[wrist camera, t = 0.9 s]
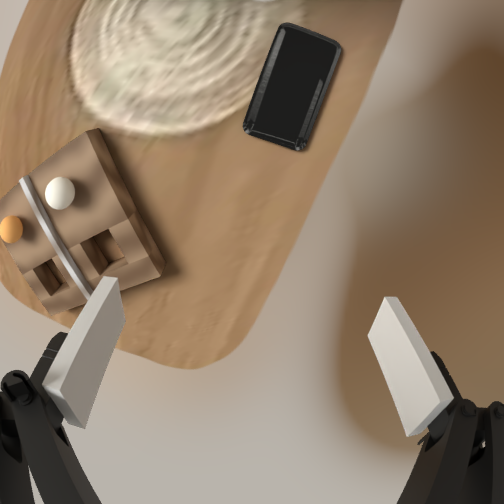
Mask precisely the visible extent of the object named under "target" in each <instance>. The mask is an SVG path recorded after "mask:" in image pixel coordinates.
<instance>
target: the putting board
mask: <svg viewBox="0 0 504 504" xmlns="http://www.w3.org/2000/svg"><path fill="white" fill-rule="evenodd" d="M57 177H65V178H68V179H69V180H70V181H71V182H72V183H73V185H74V188H75V196H74V199H73V201H72V203H71V204H70V205H69V206H68V207H66V208H64V209H60V210H58V209H54V208H52V207H51V206H50V205H49V204H48V203H47V201H46V197H45V191H46V188H47V185H48V184H49V183H50V181H52V180H53V179H54V178H57ZM10 215H13V216H16V217H18V218H19V219H20V220H21V222H22V225H23V233H22V236H21V238H20V239H19V240H18V241H17V242H15V243H7V242H5V241H4V240H3V239H2V238H1V239H2V241H3V242H4V244H5V246H6V248H7V250H8V251H9V253H10V255H11V257H12V258H13V260H14V262H15V263H16V265H17V267H18V268H19V270H20V271H21V273H22V275H23V276H24V278H25V279H26V281H27V282H28V284H29V285H30V287H31V288H32V290H33V291H34V293H35V294H36V296H37V297H38V299H39V300H40V301H41V303H42V304H43V306H44V307H45V308H46V310H47V311H48V312H49V314H50V315H51V316H52V315H55V314H58V313H61V312H63V311H66V310H69V309H72V308H74V307H77V306H80V305H83V304H85V303H87V301H88V300H89V298H90V297H91V295H92V293H93V292H94V290H95V289H96V287H97V286H98V284H99V282H100V281H101V279H102V278H103V276H107V277H115V278H118V283H119V289H120V291H121V290H124V289H127V288H130V287H132V286H135V285H138V284H141V283H144V282H146V281H149V280H152V279H155V278H158V277H160V276H161V274H162V272H163V270H164V267H165V265H166V262H165V260H164V258H163V256H162V255H161V253H160V251H159V249H158V247H157V246H156V244H155V242H154V240H153V238H152V236H151V235H150V233H149V231H148V229H147V227H146V225H145V223H144V222H143V220H142V218H141V216H140V214H139V212H138V210H137V208H136V206H135V204H134V202H133V200H132V198H131V196H130V194H129V192H128V190H127V188H126V186H125V184H124V182H123V180H122V178H121V176H120V174H119V172H118V170H117V168H116V166H115V163H114V161H113V159H112V157H111V155H110V153H109V150H108V148H107V146H106V144H105V142H104V139H103V137H102V135H101V133H100V130H99V128H97V129H93V130H89V131H85V132H84V133H82V134H81V135H80V136H78V137H77V138H75V139H74V140H72V141H71V142H69V143H68V144H67V145H65V146H64V147H63V148H61V149H60V150H58V151H57V152H56V153H55V154H53V155H52V156H51V157H49V158H48V159H47V160H45V161H44V162H43V163H42V164H40V165H39V166H38V167H37V168H35V169H34V170H33V171H32V172H31V173H29V174H28V175H26V176H24V177H23V178H21V179H20V180H19V183H18V184H17V185H16V186H15V187H13V188H12V189H11V190H10V191H9V192H8V193H7V194H6V195H5V196H4V197H3V198H2V199H1V200H0V224H1V222H2V220H3V219H4V218H5V217H7V216H10ZM107 229H109V230H110V232H111V234H112V236H113V238H114V239H115V241H116V243H117V245H118V246H119V248H120V250H121V251H122V253H123V255H124V257H123V258H120V259H118V260H116V261H113V262H111V263H109V264H108V262H107V260H106V259H105V257H104V255H103V254H102V252H101V250H100V249H99V247H98V245H97V243H96V242H95V240H94V238H93V236H95V235H97V234H99V233H101V232H103V231H105V230H107ZM0 237H1V235H0ZM51 258H52V260H53V261H54V263H55V265H56V266H57V268H58V269H59V271H60V272H61V274H62V276H63V277H64V279H65V280H66V283H63V284H61V285H60V284H59V283H58V281H57V280H56V278H55V277H54V275H53V273H52V272H51V270H50V269H49V267H48V266H47V264H46V261H48V260H49V259H51Z"/></svg>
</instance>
